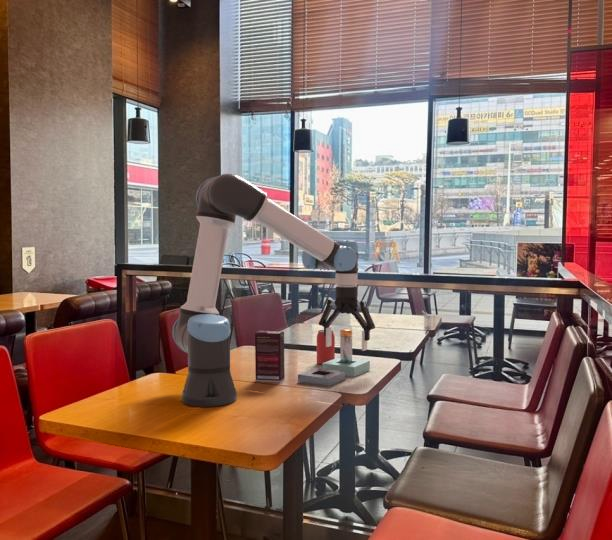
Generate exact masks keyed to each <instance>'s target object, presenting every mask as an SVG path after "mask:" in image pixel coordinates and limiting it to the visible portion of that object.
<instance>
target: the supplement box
mask: <svg viewBox="0 0 612 540" xmlns="http://www.w3.org/2000/svg"><path fill="white" fill-rule="evenodd" d="M254 349H255V351H254V360H255V361H254V362H255V365H254V366H255V382H262V383H263V382H264V383H265V382H267V383H268V382H269V383H280V384H281V383H283V381H285V378H286V377H285V331H275V330H272V331H271V330H258V331H256V332H254Z"/></svg>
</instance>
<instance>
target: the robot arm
mask: <svg viewBox="0 0 612 540" xmlns="http://www.w3.org/2000/svg"><path fill="white" fill-rule="evenodd" d="M195 202H196V206H197V210H196V211H197V212H196V220H197V221H198V223H199V230H198V236H197V240H196V246H195V253H194V258H193V263H192V270H191V275H190V281H189V287H188V291H187V292H188V293H187V298H186V301H185V303H184V304H183V305H181V306H180V307H179V314H178V318H177V319H176V321H175V322H174V324H173V326H172V338H173V341H174V343H175V345H176V346H177V347H178V348H179V350H180V351H182V352H183V353H186V354H187V367H188V368H187V369H188V371H187V376H186V380H185V383H184V386H183V390H182V392H181V402H182V403H183V404H185V405H187V406H191V407H202V408H203V407H204V408H210V407H211V408H212V407H220V406H224V405H225V406H226V405H229V404H232V403H234V402H236V401H237V389H236V386H235V384H234V380H233V377H232V373H231V332H232V331H231V324H230V321H229V319H228V318H227V317H226V316H223V315H220V312H219V310H218V309H217V307H216V305H217V304H216V303H217V297H218V292H219V286H220V280H221V274H222V268H223V264H224V263H223V262H224V256H225V251H226V246H227V245H226V244H227V239H228V234H229V229H230V228H232V227H234V225H235V222H236V216H237V217H239V218H242V219H243V220H246V221H247V222H253V221H254V222H256V223H258V224H259V225H260V226H262V227H264V228H266V229H267V230H269V231H270V232H272V233H273V234H275V235H277V236H278V237H280V238H283V240H285V241H286V242H288V243H290V244H292V245H293V246H296V247H297V248H298V249H300V250H301V251H302V253H301V262H302V265H303V267H304V268H305V269H307V270H314V271H315V270H328V271H335V276H334V277H335V278H334V279H335V280H334V281H335V282H334V285H336V286H335V287H334V289H335V290H334V291H335V292H334V293H335V295H334V296H335V299H333V298H328V299H327V300H326V306H325V309H324V311H323V313H322V315H321V317H320V320H319V322H318V325H319V326H322V327H323V330H324V337H326V347H330V346H332V331H333V330H332V329H333V328H332V326H331V325H332V324H333V322H334V321H335V320H336V319H337V317H338V316H339V315H340V314H347V315H351V316H353V317H354V318H355V320H356V321H357V323H359V325H360V327H361V328H362V329H363V330H362V331H361V351H362V352H363V351H366V350H368V341H370V339H371V338H370V336H371V334H370V333H371V330H374V329H376V325H375V323H374V320H373V318H372V316H371V314H370V311H369V309H368V307H367V301H366V300H362V301H361V300H360V301H359V300H358V295H359V294H358V290H359V289H358V287H357V285H358V284H359V283H358V277H359V276H358V267H359V265H358V263H359V262H358V260H359V257H358V256H359V249H358V248H359V247H358V242H357V241H356V240H352V239H351V240H342V239H340V240H339V239H338V240H336V241H335V240H333V239H332V238H330V237H329V236H327V235H325V234H324V233H322V232H321V231H319V230H318V229H316V228H315V227H313V226H311V225H310V224H308V223H306V222H305V221H303V220H302V219H300V218H299V217H297V216H296V215H294V214H292V213H291V212H289V211H288V210H286V209H285V208H284V207H282V206H281V205H279V204H277V203H276V202H274V201H272V200H271V199H270V198H268V195H267V192H266V191H264V190H262V189H260V188H259V187H257V186H256V185H255V184H253V183H251V182H250V181H248V180H247V179H245V178H243V177H241V176H239V175H238V174H237V175H236V174H232V173H223V174H220V175H218V176H213V177H209V178H208V179H206V180H204V181H203V182H202V183H201V184H200V185H199V187H198V189H197V191H196V195H195ZM334 306H335V307H336V308H335V309H334V310H333V311H332V309H333V307H334ZM357 307H359V308H360V311H361V313H362V315H363V316H362V315H361V313H360V311H359V310H358V308H357ZM331 312H332V314H331V315H330V313H331Z"/></svg>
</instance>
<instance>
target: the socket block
mask: <svg viewBox="0 0 612 540" xmlns="http://www.w3.org/2000/svg"><path fill="white" fill-rule="evenodd" d="M370 365H371V361H370V360H366V359H365V360H364V359H356V358H352V364H343V363H340V356H339V357H336V358H335V359H333V360H330V361H327V362H324V363H322V365H321V366H322V368H321V369H328V370H335V371H343V372H345V377H346V376H347V377H355V378H356V377H357V376H359V375H362V374H364V373H368V372H370V371H371V370H370V368H371V366H370ZM369 370H370V371H369ZM367 371H368V372H367Z"/></svg>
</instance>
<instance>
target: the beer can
mask: <svg viewBox="0 0 612 540" xmlns="http://www.w3.org/2000/svg"><path fill="white" fill-rule="evenodd" d="M335 338H336V337H335V334H334V331H333V330H332V346H330V347H326V337H324V329H319V330H318V332H317V334H316V363H317V364H318V365H320V364H322V363H324V362H327V361H330V360H333V359H336V358H335V357H336V355H335V353H336V351H335V350H336V347H335V346H336V345H335V344H336V342H335V341H336V339H335Z"/></svg>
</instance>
